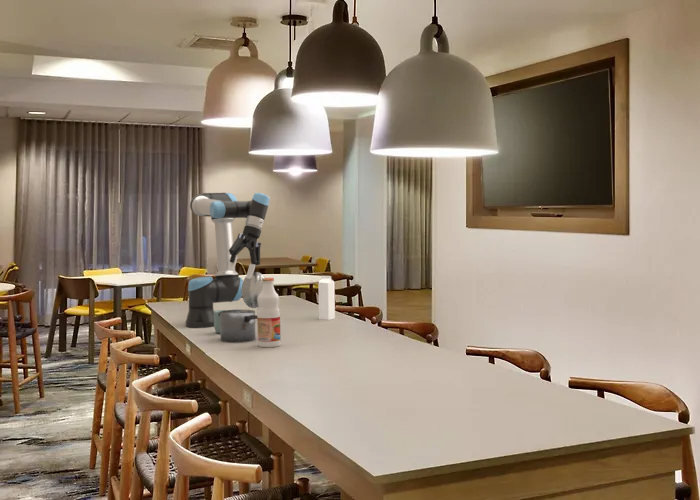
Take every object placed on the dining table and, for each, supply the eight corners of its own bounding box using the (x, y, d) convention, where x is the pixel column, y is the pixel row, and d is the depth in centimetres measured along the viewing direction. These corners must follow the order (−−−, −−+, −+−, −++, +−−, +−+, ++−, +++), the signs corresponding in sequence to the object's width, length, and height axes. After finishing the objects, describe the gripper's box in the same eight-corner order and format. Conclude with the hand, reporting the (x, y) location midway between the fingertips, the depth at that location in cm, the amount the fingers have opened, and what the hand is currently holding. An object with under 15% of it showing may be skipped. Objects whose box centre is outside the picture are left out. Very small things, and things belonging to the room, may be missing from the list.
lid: (240, 306, 343) (246, 306, 346) (264, 309, 333) (270, 309, 335) (242, 271, 344) (248, 271, 346) (266, 272, 333) (272, 272, 335)
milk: (325, 317, 393) (324, 275, 392) (335, 318, 390) (334, 275, 389) (318, 319, 388) (318, 276, 387) (328, 320, 385) (328, 276, 384)
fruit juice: (257, 344, 320) (256, 277, 319) (280, 343, 322) (278, 276, 320) (257, 348, 311) (256, 279, 309) (281, 347, 312) (279, 278, 311)
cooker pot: (236, 334, 345) (235, 308, 344) (266, 339, 331) (266, 311, 331) (209, 339, 333) (208, 311, 333) (240, 344, 320) (239, 315, 319)
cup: (227, 334, 346) (227, 312, 345) (211, 334, 347) (211, 312, 347) (233, 331, 353) (233, 310, 353) (217, 331, 355) (217, 309, 354)
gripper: (243, 219, 324) (229, 267, 320) (275, 237, 344) (262, 282, 340) (229, 217, 328) (215, 265, 324) (262, 235, 348) (249, 280, 344)
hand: (239, 274), depth 332 cm, fingers open, 12 cm apart
